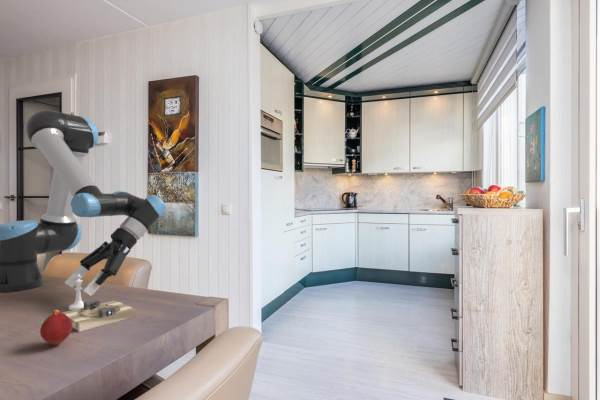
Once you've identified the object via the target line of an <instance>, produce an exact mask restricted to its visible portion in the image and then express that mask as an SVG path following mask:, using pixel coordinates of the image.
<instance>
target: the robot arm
mask: <svg viewBox="0 0 600 400" xmlns="http://www.w3.org/2000/svg"><path fill="white" fill-rule="evenodd" d="M25 133H26V136H27V139H28V140H29V142H30V144H32V146H33V147H34V148H36V149H38V150H40V151H41V154H43V156H44V158H45V159H46V160H47V162H48V163H49V164H50V166H51V167H52V169H53V170H52V171H53V172H52V177H51V178H52V179H51V184H50V190H49V196H48V202H47V208H46V213H43V214H42V215H41V216H40V221H39V222H38V221H37V220H35V219H24V220H15V221H9V222H4V223H1V224H0V293H8V292H9V293H10V292H19V291H24V290H25V291H26V290H29V289H33V288H36V287H37V288H38V287H39V286H41V285H43V284H44V278H43V274H42V272H41V269H40V267H39V265H38V255H42V254H47V253H48V254H49V253H56V252H64V251H69V250H72V249H73V248H75V247H77V245H78V244H79V243H80V241H81V237H82V229H81V226H80V224H79V223H78V222H77V220H78V219H77V218H76V217H80V218H95V217H112V216H113V217H115V216H127V217H126V218H125V220H124V221H123V222H121V223H120V224H119V227H117V228H116V229H115V230H114V231H113V232H112V233H111V234H110V238H111V241H110V242H108V241H104V242H103V243H101V245H100V246H99V247H97V248H96V249H94V250H93V251H92V252H90V253H89V254H87V256H85V257H84V258H82V259H80V261H79V263H80V266H79V267H77V269H75V270H74V271H73V273H72V274H71V275H70V276H69V277H68V278H66V280H65V281H64V282H63V283H65V285H67V286H69V287H70V288H71V289H73V288H74V287H75V286H76V284H75V280H77V278H76V276H77V274H80V276H82V278H83V277H84V276H85V275H86V274H87V273H88V272H89V271H90V269H91V268H92V267H94V266H95V265H97V264H98V263H100V262H102V261H103V260H106V262H105V265H104V267H103V268H102V269H100V271H99V272H98V273H97V274H96V275H95V277H94V278H93V279H92V280H91V281H89V282H88V284H87V285H86V286H85V288H83V289H82V291H83V292H84V293H86V294H87V295H89V296H90V297H92V296H93V295H94V294H95V293H96V292H97V290H98V289H100V287H101V286H102V285H103V284H104V282H105V281H107V279H108V278H111V277H112V276H113V277H115V276H117V274H118V273H119V270H120V269H121V266H122V264H123V263H124V261H125V259H126V258H127V256H128V254H130V252H131V250H132V249H133V247H134V246H135V245H136V244H137V243H138V241H139V240H141V238H142V237H144V236H145V233H147V232H148V230H149V229H151V227H152V226H153V225H154V224H155V223H156V222H157V221H158V219H160V218H161V216H162V215H163V214H164V212H166V209H167V205H166V203H165V202H164V200H163V199H162V198H160V197H159V196H157V195H155V194H150V195H148V196H147V197H146V198H140V197H138V196H136V195H135V194H131V193H129V192H127V191H122V190H115V191H114V192H112V193H105V192H104V193H103V192H102V191H101V189H100V188H99V187H98V186H97V184H96V183H95V181H94V180H93V179H92V177H91V175H89V173H88V172H87V171H86V169H85V167H84V166H83V158H84V157H85V156H87V155H88V154H89V151H90V149H93V148H95V146H96V145H97V144H98V141H99V131H98V127H97V126H96V124H95V123H94V122H93V120H90V119H88V118H85V117H83V116H81V115H80V116H79V115H73V114H70V113H65V112H61V111H56V110H53V109H43V110H39V111H37V112H34V113H33V114H31V115H30V116H29V118H28V119H27V122H26V125H25ZM74 215H75V216H76V217H75V216H74ZM82 278H80V280H82Z"/></svg>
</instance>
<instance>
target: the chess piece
mask: <svg viewBox="0 0 600 400" xmlns="http://www.w3.org/2000/svg"><path fill="white" fill-rule="evenodd" d="M76 278H77V280H75V286H76V287H75V288H74V291H76V292H75V293H76V294H75V300H74V302H73V303H72V304H70V305H68V308H67V309H68V311H72V310H76V309H81V308H84V302H85V301H83V300H82V293H81V290H84V288H83V287H82V284H83V281H84V280H83V279H82V278H83V277H82V276H80V274H77V276H76ZM80 278H81V279H80Z"/></svg>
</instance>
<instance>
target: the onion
mask: <svg viewBox="0 0 600 400" xmlns="http://www.w3.org/2000/svg"><path fill="white" fill-rule="evenodd" d="M72 331H73V328H72V321H71V320H70V318H69V317H68V316H67V315H65V314H63V312H61V311H60V310H58V309H55V310H53V311H52V314H50V315H49V316H48V317H47V318H45V320H44V321H43V323H42V324H41V326H40V331H39V333H40V337H41V338H42V340H43V341H45V342H47V343H49V344H51V345H53V346H59V345H61V344H62V343H63V342H64V341H65V340H66V339H67V338H68V337H69V336H70V334H71V332H72Z"/></svg>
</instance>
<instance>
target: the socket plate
mask: <svg viewBox="0 0 600 400" xmlns="http://www.w3.org/2000/svg"><path fill="white" fill-rule="evenodd" d="M83 302H84V308H81V309H76V310H68V311H64V312H62V313H63V314H65V315H67V316H68V317H69V318H70V320H71V321H72V329H75V331H77V332H79V333H80V332H83V331H84V332H85V331H88V330H91V329H95V328H98V327H102V326H105V325H110V324H113V323H117V322H120V321H124V320H127V319H130V318H131V319H132V318H135V317H136V316H137V315H136V313H137V312H136V311H137V309H136V308H134V307H132V306H130V305H128V304H125V303H122V302H120V301H117V300H112V301H108V302H103V303H101V301H100V300H98V299H92V300H87V301H83ZM91 304H96V305H97V307H96V308H93V307H92V306H91ZM108 311H109V312H111V314H110V315H108V314H107V312H108Z"/></svg>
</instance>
